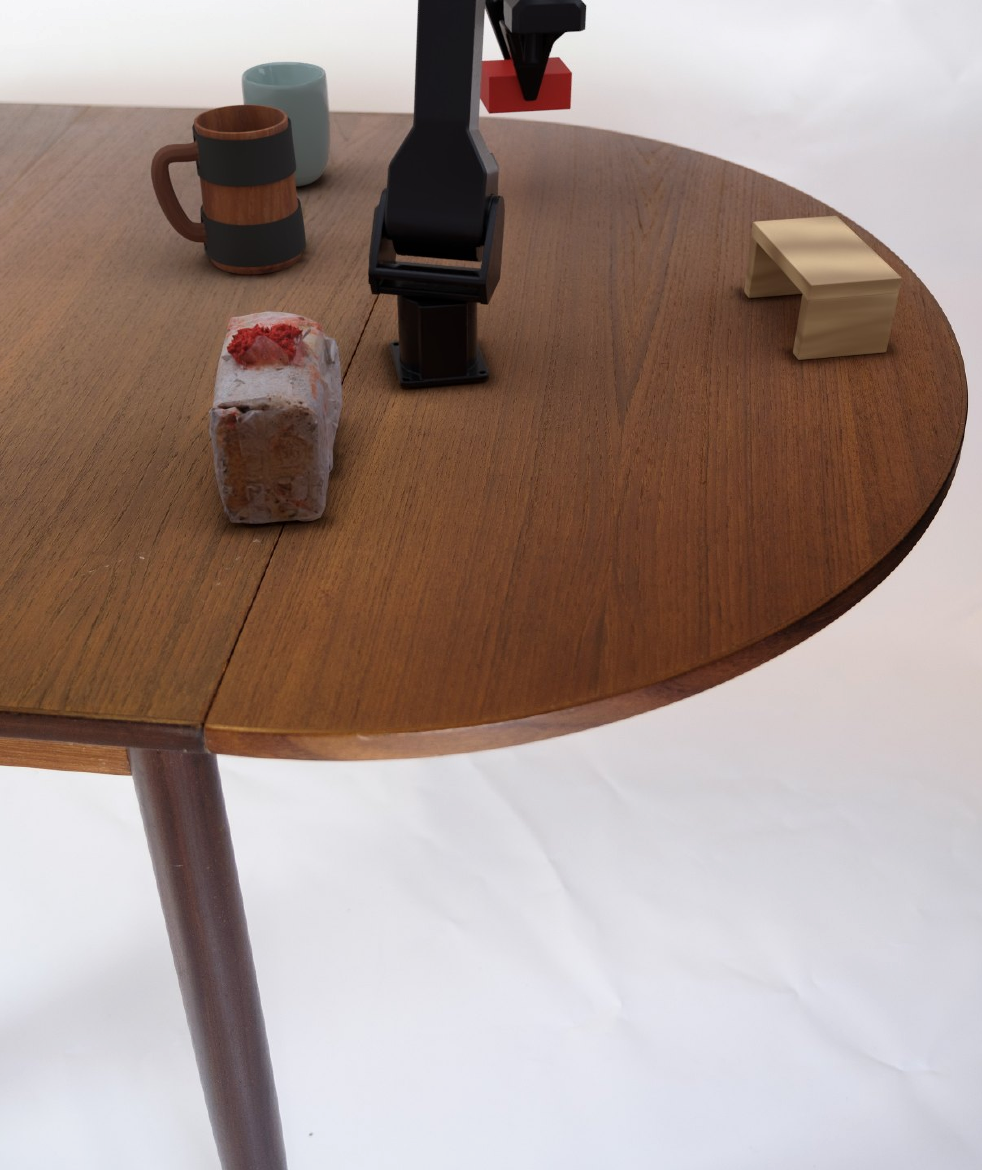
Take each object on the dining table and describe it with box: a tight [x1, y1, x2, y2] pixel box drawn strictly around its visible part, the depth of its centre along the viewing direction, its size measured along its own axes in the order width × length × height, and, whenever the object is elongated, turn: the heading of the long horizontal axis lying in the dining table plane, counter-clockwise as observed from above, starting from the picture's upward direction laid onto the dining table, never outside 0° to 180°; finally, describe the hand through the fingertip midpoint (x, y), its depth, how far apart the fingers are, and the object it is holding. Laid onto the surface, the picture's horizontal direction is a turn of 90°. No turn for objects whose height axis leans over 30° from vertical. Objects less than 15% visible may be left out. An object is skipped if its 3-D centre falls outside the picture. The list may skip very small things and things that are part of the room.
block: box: [480, 56, 573, 115], centre depth 115 cm, size 8×5×3 cm, turn 101°
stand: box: [743, 215, 903, 361], centre depth 99 cm, size 12×7×6 cm, turn 11°
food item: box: [208, 310, 343, 525], centre depth 80 cm, size 14×8×10 cm, turn 6°
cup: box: [241, 61, 331, 188], centre depth 121 cm, size 8×8×10 cm
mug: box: [150, 104, 307, 275], centre depth 106 cm, size 9×12×12 cm
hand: (524, 91), depth 116 cm, fingers closed on block, 5 cm apart
